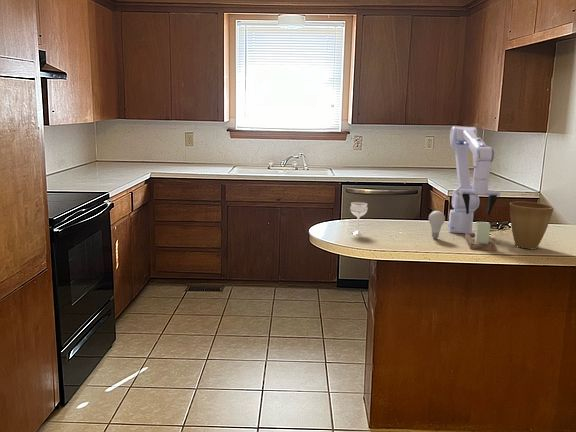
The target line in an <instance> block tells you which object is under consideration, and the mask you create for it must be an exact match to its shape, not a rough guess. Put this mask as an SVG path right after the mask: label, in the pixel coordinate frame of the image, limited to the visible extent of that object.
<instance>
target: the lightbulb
mask: <svg viewBox="0 0 576 432" xmlns="http://www.w3.org/2000/svg"><path fill="white" fill-rule="evenodd" d="M445 221H446V216H445V214H444V212H442V211H440V210H434V211H433V210H432V211H431V213H429V215H428V222H429V224H430V227H431V228H430V229H431V237H432V238H433V239H438V238H439V236H440V232H441V228H442V226H443V225H444V224H445Z"/></svg>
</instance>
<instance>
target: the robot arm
mask: <svg viewBox="0 0 576 432" xmlns="http://www.w3.org/2000/svg"><path fill="white" fill-rule="evenodd" d="M449 144H450V148H451V149H452V150H453V151H454V157H455V165H456V176H457V188H455V189H454V190H453V191H452V193H451V206H452V208H453V209H450V210H449V214H448V216H449V217H448V224H447V229H448V232H449V233H455V234H465V233H475V231H474V230H473V221H474V214H475V213H474V212H476V210H478V208H479V206H480V196H482V197H483V196H486V197H488V198H487V201H488V202H487V209H486V215H487V216H490V215H491V211H492V208H493V207H494V205H495V203H496V202H497V199H498V197H499V198H500V197H501V191H500V190H490V189H489V185H490V173H491V172H490V171H491V163H492V162H493V161H494V158H495V150H494V148H493V146H488V145H487V144H486V143H485V142H484V140H483V139H482V138H481V137H478V130H477V128H476V126H456V125H454V126H452V127H451V128H450V131H449ZM469 150H470V152H471V153H472V161H473V162H472V166H473V174H472V176H473V177H472V185H471V177H470V167H469V158H468V151H469Z"/></svg>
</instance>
